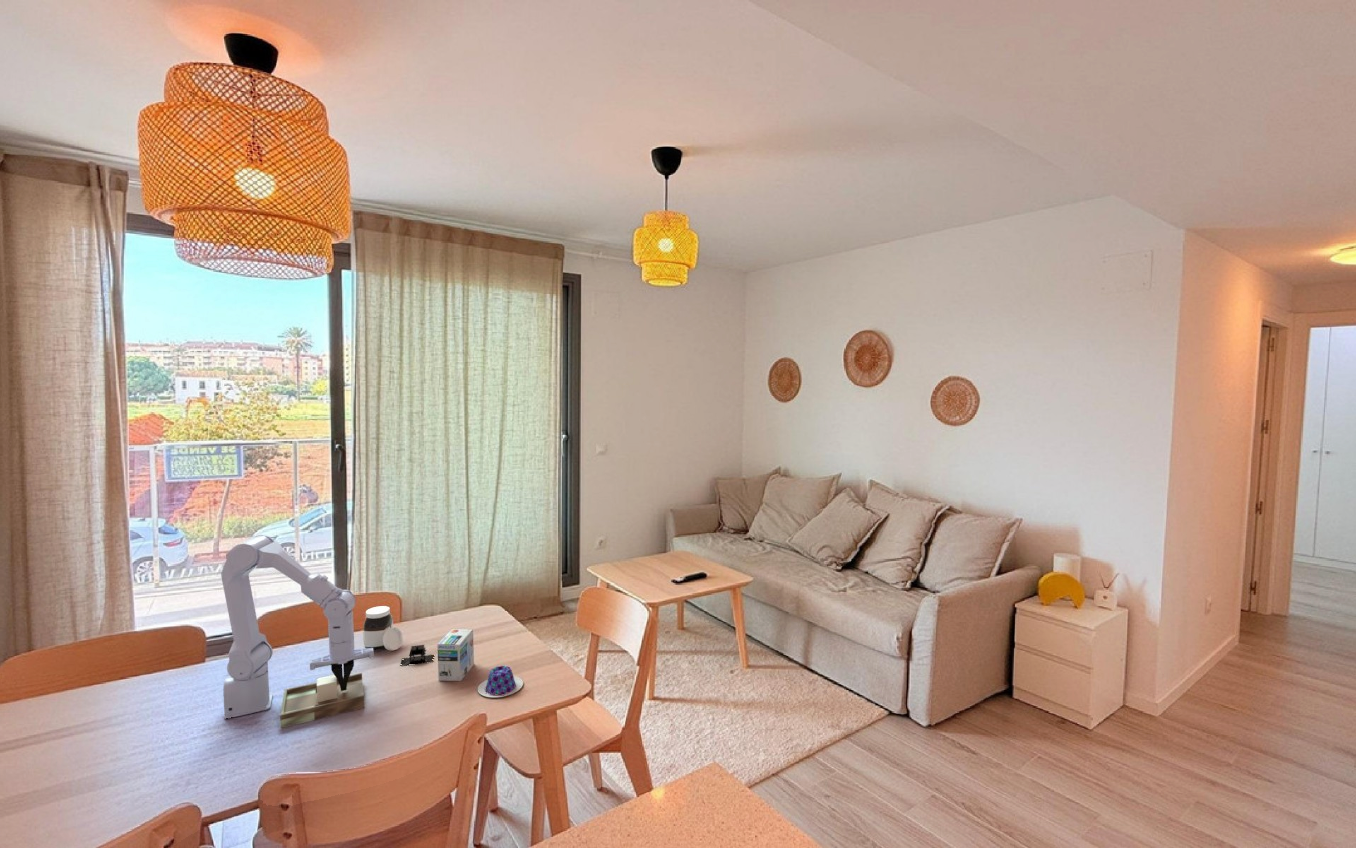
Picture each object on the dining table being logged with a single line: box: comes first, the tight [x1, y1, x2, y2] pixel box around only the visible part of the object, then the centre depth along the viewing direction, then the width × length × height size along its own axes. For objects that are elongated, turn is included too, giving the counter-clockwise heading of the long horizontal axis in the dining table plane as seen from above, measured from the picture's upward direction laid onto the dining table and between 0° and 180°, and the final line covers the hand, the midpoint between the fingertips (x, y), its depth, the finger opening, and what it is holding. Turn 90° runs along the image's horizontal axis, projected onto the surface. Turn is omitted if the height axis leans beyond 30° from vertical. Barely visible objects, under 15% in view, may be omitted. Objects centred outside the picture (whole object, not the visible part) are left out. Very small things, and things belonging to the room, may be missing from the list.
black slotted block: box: [399, 644, 436, 667], centre depth 180 cm, size 12×7×5 cm, turn 108°
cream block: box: [316, 674, 337, 702], centre depth 155 cm, size 4×4×4 cm
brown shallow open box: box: [279, 672, 365, 729], centre depth 155 cm, size 18×14×3 cm
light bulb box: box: [436, 628, 475, 682], centre depth 172 cm, size 11×7×11 cm, turn 179°
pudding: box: [477, 665, 524, 698], centre depth 164 cm, size 12×12×5 cm
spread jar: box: [362, 605, 404, 652], centre depth 189 cm, size 12×11×12 cm
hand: (343, 689), depth 157 cm, fingers closed
